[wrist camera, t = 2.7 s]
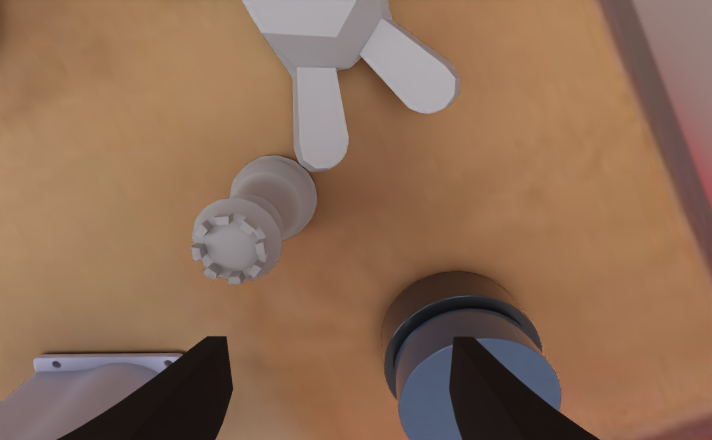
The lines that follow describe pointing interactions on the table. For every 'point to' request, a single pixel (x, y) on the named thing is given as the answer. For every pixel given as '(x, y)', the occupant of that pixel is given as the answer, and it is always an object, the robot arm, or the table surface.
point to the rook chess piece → (254, 219)
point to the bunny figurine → (346, 66)
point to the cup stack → (435, 343)
